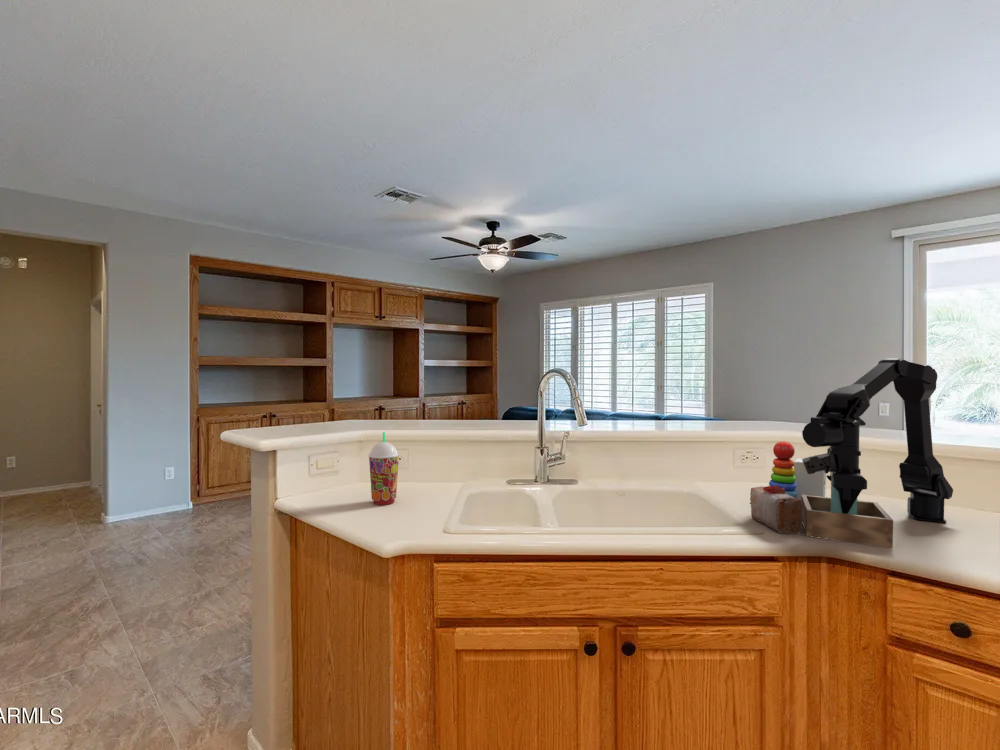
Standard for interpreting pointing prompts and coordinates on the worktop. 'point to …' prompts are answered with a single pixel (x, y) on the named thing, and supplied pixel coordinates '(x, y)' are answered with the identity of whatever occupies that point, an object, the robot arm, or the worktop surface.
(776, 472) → the stacking toy
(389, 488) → the smoothie
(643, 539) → the worktop surface
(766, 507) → the weathered brown brick
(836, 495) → the peg
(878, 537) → the bore box
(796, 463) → the supplement box
